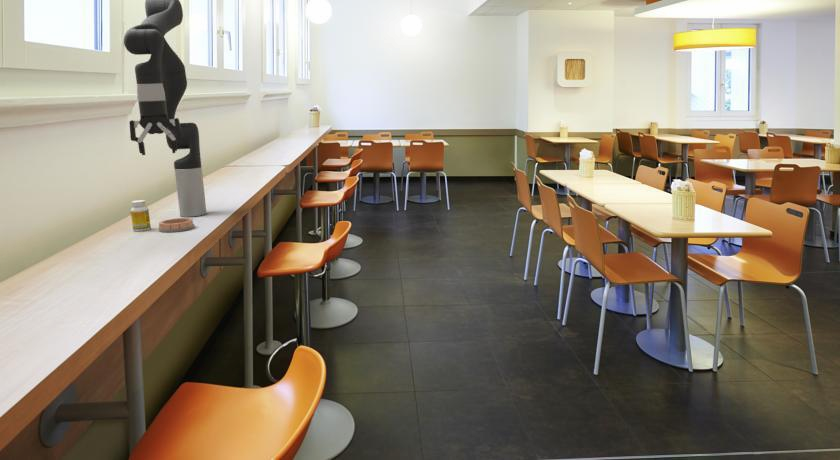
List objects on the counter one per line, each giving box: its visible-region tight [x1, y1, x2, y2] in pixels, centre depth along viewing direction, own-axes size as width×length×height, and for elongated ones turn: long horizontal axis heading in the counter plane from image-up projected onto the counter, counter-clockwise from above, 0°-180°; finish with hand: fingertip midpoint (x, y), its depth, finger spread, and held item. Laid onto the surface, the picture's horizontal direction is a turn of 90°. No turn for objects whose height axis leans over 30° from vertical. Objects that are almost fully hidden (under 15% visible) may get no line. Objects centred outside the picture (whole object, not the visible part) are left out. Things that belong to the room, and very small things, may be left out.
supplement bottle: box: [130, 199, 152, 232], centre depth 204 cm, size 5×5×10 cm
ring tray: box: [158, 217, 195, 234], centre depth 205 cm, size 11×11×3 cm
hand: (158, 153), depth 190 cm, fingers open, 8 cm apart
